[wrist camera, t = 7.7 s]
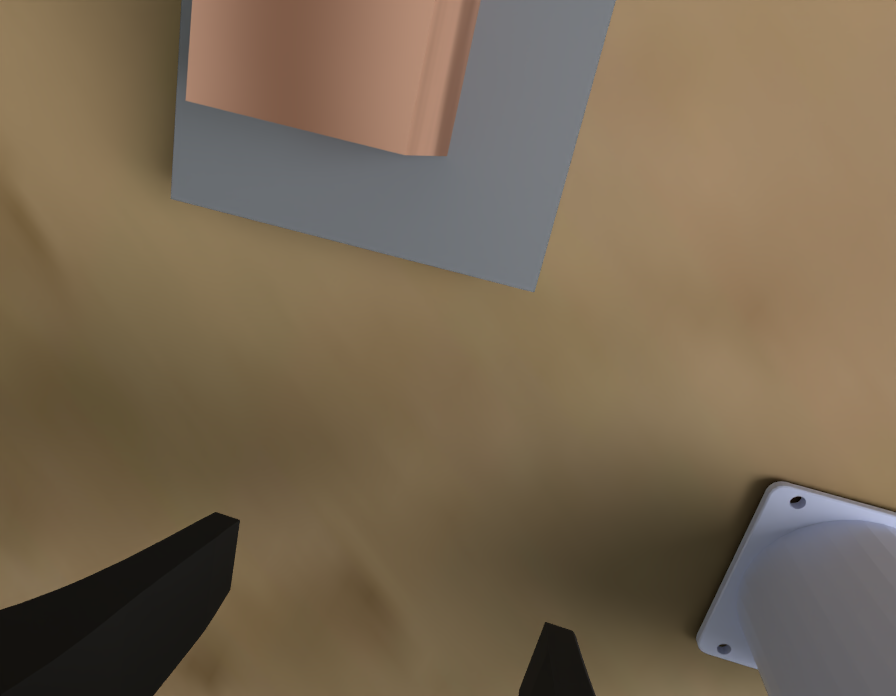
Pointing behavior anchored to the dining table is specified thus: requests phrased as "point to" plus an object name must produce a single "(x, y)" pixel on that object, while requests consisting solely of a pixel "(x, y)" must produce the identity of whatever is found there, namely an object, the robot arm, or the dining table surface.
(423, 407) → the dining table surface
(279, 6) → the terracotta cube
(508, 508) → the dining table surface
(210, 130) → the slate block
